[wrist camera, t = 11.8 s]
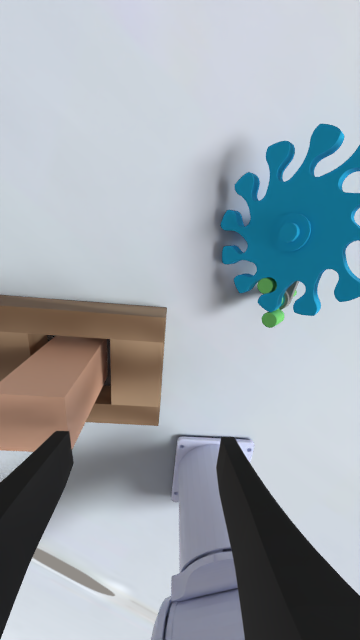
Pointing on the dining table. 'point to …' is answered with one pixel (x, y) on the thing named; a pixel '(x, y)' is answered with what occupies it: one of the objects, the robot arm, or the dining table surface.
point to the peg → (52, 392)
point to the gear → (297, 228)
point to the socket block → (94, 322)
